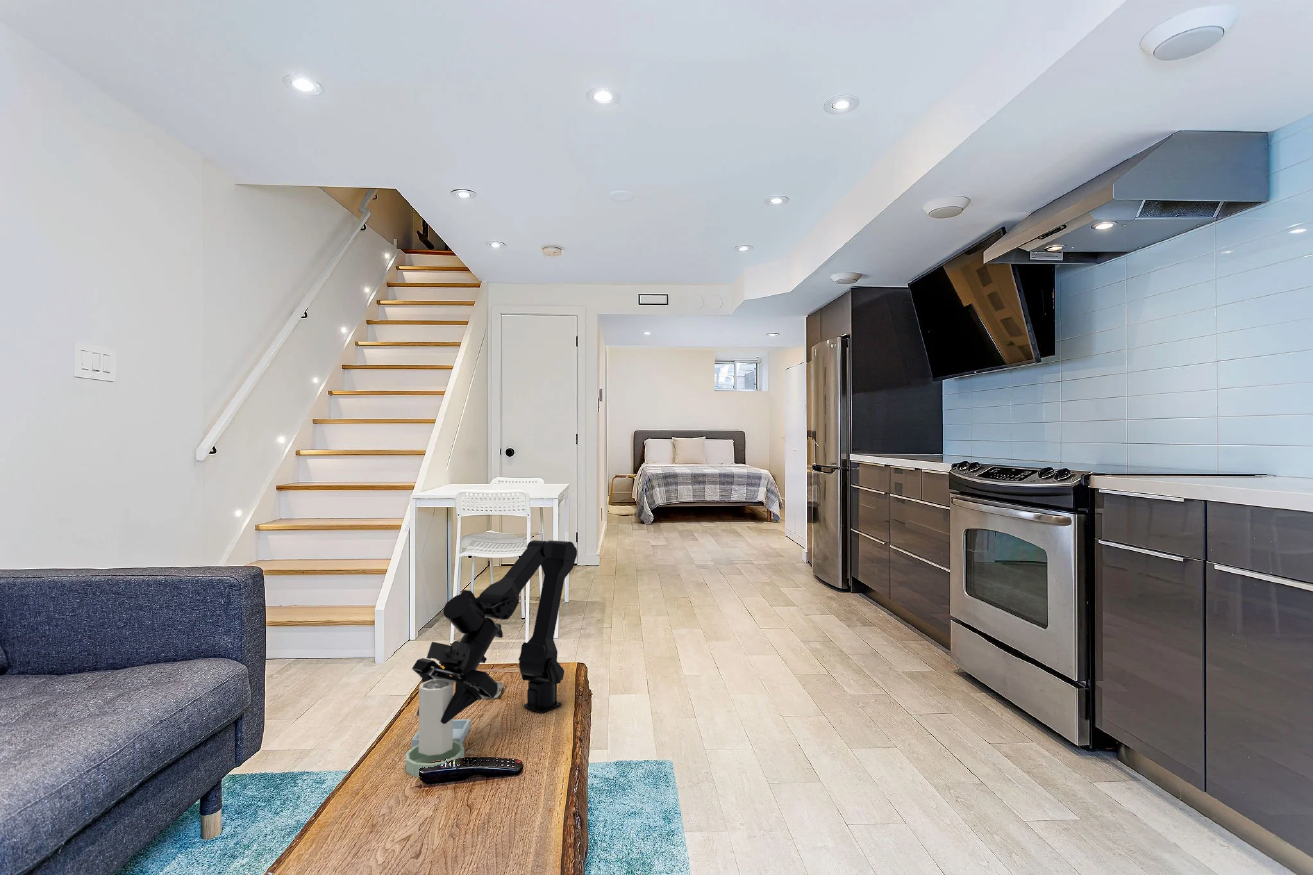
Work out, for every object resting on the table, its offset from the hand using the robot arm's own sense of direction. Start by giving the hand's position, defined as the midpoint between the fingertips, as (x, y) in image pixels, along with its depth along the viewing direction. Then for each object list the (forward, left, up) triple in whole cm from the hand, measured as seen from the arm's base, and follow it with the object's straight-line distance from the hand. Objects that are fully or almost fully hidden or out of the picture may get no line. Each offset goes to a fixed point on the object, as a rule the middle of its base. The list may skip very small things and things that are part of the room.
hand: (430, 719), depth 122 cm
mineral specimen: (-32, -25, -10) cm, 42 cm away
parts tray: (-9, -9, -9) cm, 16 cm away
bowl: (-1, 0, -9) cm, 10 cm away
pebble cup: (-1, 0, -6) cm, 6 cm away
